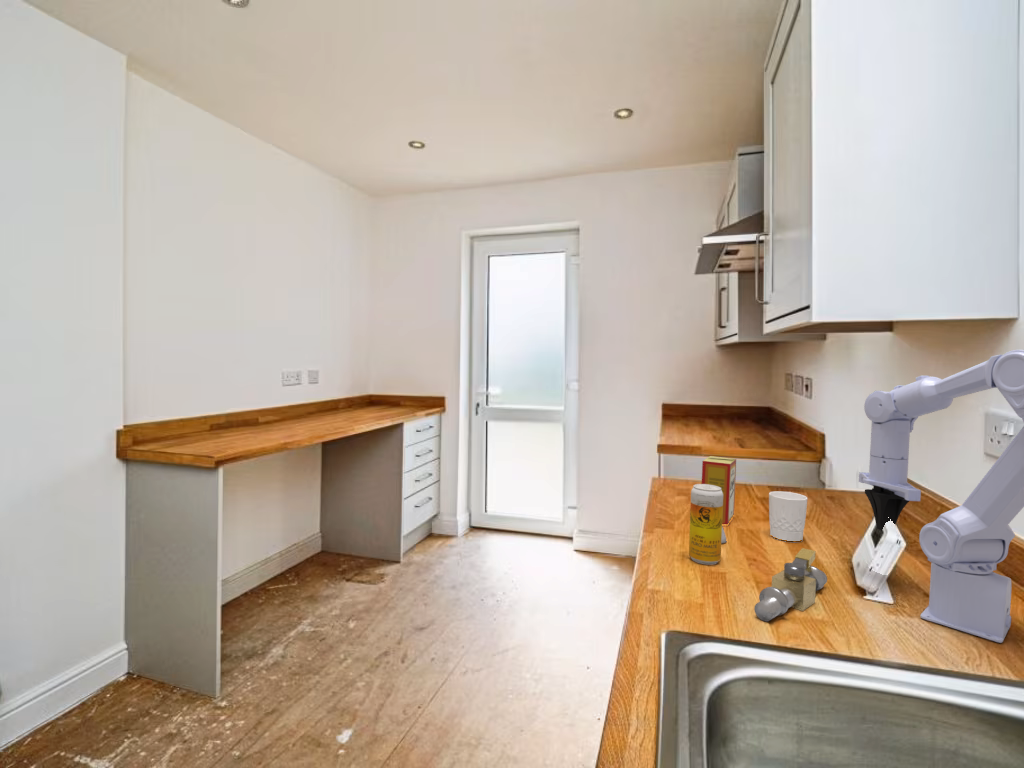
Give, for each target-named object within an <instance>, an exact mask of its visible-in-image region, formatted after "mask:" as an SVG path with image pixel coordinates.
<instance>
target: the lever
mask: <svg viewBox="0 0 1024 768" xmlns="http://www.w3.org/2000/svg"><path fill="white" fill-rule="evenodd" d="M797 552H798V553H796V555H795V556H794V560H792V562H786V563H784V565H783V567H784V568H783V570H784V576H785V577H787V578H789V579H792V580H804V574H805V570H806V568H807V567H808V568H809V567H810V566H812V564H813V562H814V561H815V559H816V550H813V549H808V548H804V547H802V548H801V549H800V550H799V551H797Z"/></svg>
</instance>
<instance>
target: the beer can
mask: <svg viewBox="0 0 1024 768" xmlns="http://www.w3.org/2000/svg"><path fill="white" fill-rule="evenodd" d="M689 512H690V513H689V536H688V537H689V540H688V541H689V542H688V556H689V557H690V559H691V560H692V561H693V562H695V563H697V564H700V565H706V566H712V565H717V564H718V562H720V560H722V559H721V557H722V543H721V538H722V513H723V492H722V490H721V488H720V487H718V486H715V485H709V484H702V483H696V484H693V486H692V489H691V491H690V511H689Z"/></svg>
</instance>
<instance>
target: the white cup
mask: <svg viewBox="0 0 1024 768" xmlns="http://www.w3.org/2000/svg"><path fill="white" fill-rule="evenodd" d="M807 506H808V497H807V496H806V495H803V494H800V493H796V492H791V491H780V490H779V491H770V492H769V493H768V510H769V511H768V517H769V536H770V535H772V536H773V537H776V538H778V539H782V540H787V541H800V540H802V541H803V540H804V539H803V537H804V529H805V525H806V517H807ZM773 537H772V538H773ZM778 539H777V540H778Z"/></svg>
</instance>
